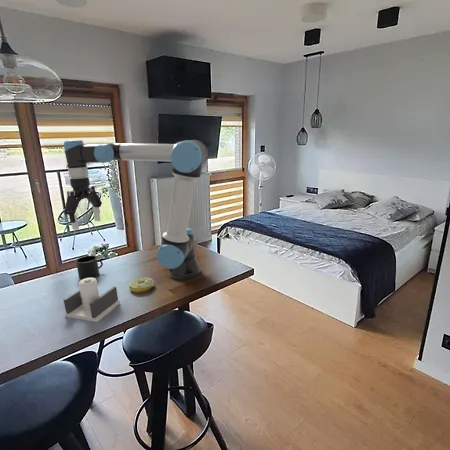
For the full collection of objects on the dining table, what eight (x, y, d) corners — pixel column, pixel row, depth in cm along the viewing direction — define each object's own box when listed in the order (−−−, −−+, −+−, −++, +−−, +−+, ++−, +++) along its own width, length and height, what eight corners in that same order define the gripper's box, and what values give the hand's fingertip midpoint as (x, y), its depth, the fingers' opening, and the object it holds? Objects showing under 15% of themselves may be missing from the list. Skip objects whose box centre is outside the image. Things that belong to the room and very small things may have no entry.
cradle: (120, 303, 130) (117, 286, 128) (97, 322, 117) (93, 304, 115) (90, 298, 135) (87, 282, 133) (65, 316, 122) (61, 299, 120)
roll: (103, 303, 127) (99, 277, 124) (92, 311, 122) (88, 285, 119) (90, 301, 129) (86, 276, 126) (79, 309, 124) (74, 283, 121)
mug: (107, 274, 158) (104, 257, 156) (82, 281, 151) (78, 264, 148) (101, 268, 165) (98, 252, 163) (76, 275, 158) (73, 258, 156)
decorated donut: (158, 287, 143) (158, 280, 142) (138, 296, 135) (137, 288, 134) (145, 281, 149) (145, 273, 148) (125, 289, 142) (124, 281, 141)
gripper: (92, 173, 147) (99, 217, 153) (48, 181, 125) (58, 232, 131) (105, 173, 145) (112, 218, 151) (63, 181, 122) (72, 233, 128)
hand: (87, 225), depth 141 cm, fingers open, 13 cm apart
